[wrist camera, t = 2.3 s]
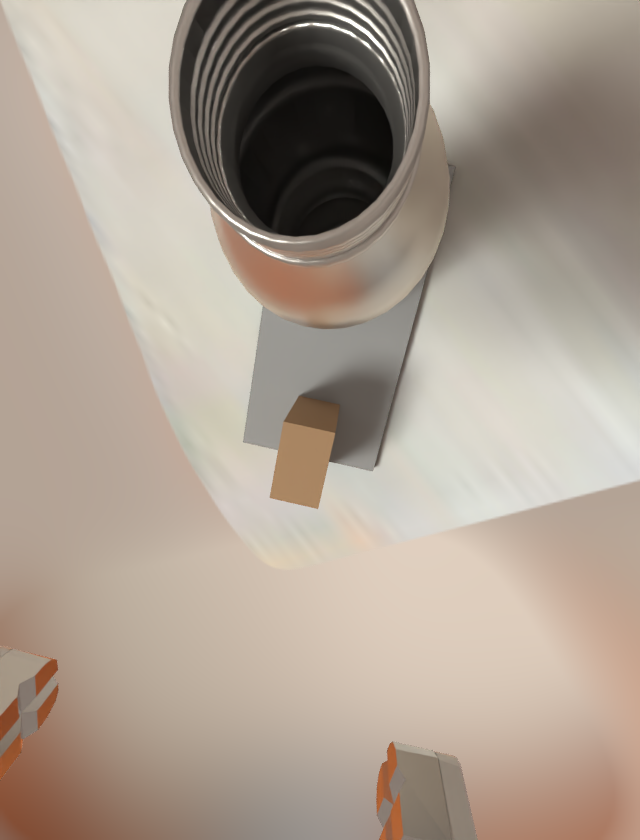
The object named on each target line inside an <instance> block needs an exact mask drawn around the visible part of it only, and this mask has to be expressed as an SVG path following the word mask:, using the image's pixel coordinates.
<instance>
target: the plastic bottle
mask: <svg viewBox="0 0 640 840" xmlns="http://www.w3.org/2000/svg"><path fill="white" fill-rule="evenodd" d="M169 104H170V111H171V118H172V125H173V130H174V134H175V137H176V140H177V143H178V147H179V150H180V153H181V156H182V159H183V161H184V163H185V165H186V167H187V169H188V171H189V173H190V175H191V177H192V179H193V181H194V183H195V185H196V186H197V187H198V189H199V191H200V192H201V193H202V195H203V196H204V197H205V199H206V200H207V202H208V203H209V204H210V207H211V215H212V219H213V223H214V226H215V229H216V233H217V236H218V239H219V242H220V245H221V247H222V250H223V252H224V254H225V256H226V258H227V260H228V262H229V264H230V266H231V268H232V270H233V272H234V274H235V275H236V277H237V278H238V279H239V281H240V282H241V283H242V285H243V286H244V287H245V289H246V290H247V291H248V292H249V293H250V294H251V295H252V296H253V297H254V298H255V299H256V300H257V301H258V302H259V303H260V304H261V305H263V306H264V307H265V308H266V309H268V310H270V311H271V312H273V313H274V314H276V315H278V316H279V317H281V318H282V319H285V320H288V321H290V322H293V323H296V324H298V325H301V326H305V327H311V328H318V329H340V328H348V327H352V326H355V325H359V324H362V323H366V322H368V321H370V320H372V319H374V318H376V317H378V316H380V315H382V314H384V313H386V312H387V311H389V310H390V309H391V308H392V307H394V306H395V305H396V304H398V303H399V302H400V301H401V300H403V299H404V298H405V297H406V296H407V295H408V294H409V293H410V291H411V290H412V289H413V288H414V287H415V286H416V284H417V283H418V282H419V281H420V280H421V279H422V277H423V275H424V274H425V272H426V270H427V268H428V267H429V265H430V263H431V262H432V260H433V258H434V257H435V254H436V251H437V249H438V246H439V243H440V241H441V238H442V235H443V233H444V229H445V223H446V218H447V213H448V208H449V184H450V176H449V169H448V163H447V157H446V150H445V145H444V140H443V136H442V133H441V130H440V127H439V125H438V122H437V119H436V116H435V113H434V111H433V108H432V107H431V105H430V63H429V56H428V50H427V44H426V38H425V32H424V28H423V25H422V22H421V19H420V16H419V14H418V11H417V8H416V5H415V2H414V0H187V1H186V3H185V5H184V7H183V10H182V13H181V16H180V19H179V22H178V25H177V28H176V31H175V35H174V39H173V45H172V52H171V58H170V64H169Z"/></svg>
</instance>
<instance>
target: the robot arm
mask: <svg viewBox="0 0 640 840" xmlns="http://www.w3.org/2000/svg"><path fill="white" fill-rule="evenodd" d="M57 670H58V665H57V660H56V659H52V658H48V657H44V656H40V655H36V654H32V653H28V652H24V651H20V650H17V649H14V648H10V647H6V646H1V645H0V780H1V779H2V777H3V776H4V775H5V773H6V772H7V771H8V769H9V768H10V767H11V765H12V764H13V763H14V761H15V760H16V759H17V757H18V756H19V755H20V753H21V751H22V744H23V739H24V738H26V737H28V736H29V735H31V734H32V733H34V732H36V731H37V730H38V729H39V728H40V726H41V725H42V724H43V722H44V721H45V720H46V718H47V716H48V715H49V713H50V711H51V709H52V707H53V705H54V703H55V701H56V698H57V694H58V682H57V681H56V679H55V678H54V677H53V675H54V674H55V673H56V672H57ZM387 757H388V760H387V761H385V762H384V763H382V766H381V768H380V771H379V776H378V783H377V798H376V800H377V801H376V802H377V816H378V819H379V821H380V823H381V825H382V827H383V831H382V834H381V836H380V838H379V840H477V835H476V831H475V827H474V822H473V818H472V813H471V809H470V804H469V801H468V796H467V791H466V787H465V783H464V778H463V774H462V769H461V765H460V763H459V761H458V759H457V758H456V757H455V756H452V755H447V754H443V753H439V752H435V751H433V750H428V749H424V748H419V747H415V746H411V745H406V744H402V743H397V742H391V743H390V745H389V747H388V750H387Z"/></svg>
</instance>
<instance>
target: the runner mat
mask: <svg viewBox="0 0 640 840" xmlns="http://www.w3.org/2000/svg"><path fill="white" fill-rule="evenodd" d="M455 168H456V167H455V166H450V165H448V169H449V176H450V184H449V190H450V186H451V183H452V179H453V175H454V171H455ZM427 271H428V268H427V270H426V272H425V274H424V275H423V277H422V279H421V280H420V281H419V282H418V283H417V284H416V286H415V287H414V288H413V289H412V290H411V291H410V293H409V294H408V295H407V296H406V297H405V298H404V299H403V300H401V301H400V302H399V303H398V304H396V305H395V306H394V307H392V308H391V309H390V310H389V311H387V312H386V313H384V314H382V315H380V316H378V317H376V318H374V319H372V320H370V321H368V322H366V323H362V324H359V325H355V326H352V327H348V328H340V329H318V328H311V327H305V326H301V325H298V324H296V323H293V322H290V321H288V320H285V319H282V318H281V317H279V316H278V315H276V314H274V313H273V312H271V311H270V310H268V309H266V308H265V307H264V306H263V309H262V316H261V323H260V330H259V337H258V344H257V350H256V357H255V364H254V371H253V378H252V385H251V392H250V398H249V405H248V412H247V419H246V426H245V433H244V440H243V442H244V443H249V444H253V445H258V446H262V447H267V448H271V449H275V450H278V455H277V460H276V466H275V471H274V477H273V483H272V488H271V494H270V498H273V499H277V500H281V501H286V502H290V503H295V504H299V505H303V506H308V507H312V508H317V509H318V507H319V502H320V498H321V494H322V489H323V485H324V480H325V476H326V472H327V467H328V463H329V462H333V463H338V464H342V465H347V466H351V467H356V468H360V469H365V470H369V471H373V469H374V466H375V462H376V458H377V455H378V451H379V447H380V444H381V440H382V436H383V433H384V429H385V425H386V422H387V418H388V414H389V410H390V407H391V403H392V399H393V396H394V392H395V388H396V385H397V381H398V377H399V374H400V370H401V366H402V363H403V359H404V355H405V352H406V348H407V344H408V341H409V337H410V333H411V330H412V326H413V322H414V319H415V315H416V311H417V308H418V304H419V300H420V297H421V293H422V289H423V285H424V282H425V278H426V274H427Z"/></svg>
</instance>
